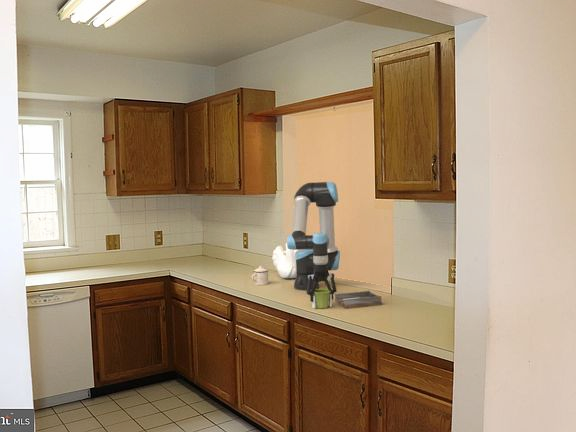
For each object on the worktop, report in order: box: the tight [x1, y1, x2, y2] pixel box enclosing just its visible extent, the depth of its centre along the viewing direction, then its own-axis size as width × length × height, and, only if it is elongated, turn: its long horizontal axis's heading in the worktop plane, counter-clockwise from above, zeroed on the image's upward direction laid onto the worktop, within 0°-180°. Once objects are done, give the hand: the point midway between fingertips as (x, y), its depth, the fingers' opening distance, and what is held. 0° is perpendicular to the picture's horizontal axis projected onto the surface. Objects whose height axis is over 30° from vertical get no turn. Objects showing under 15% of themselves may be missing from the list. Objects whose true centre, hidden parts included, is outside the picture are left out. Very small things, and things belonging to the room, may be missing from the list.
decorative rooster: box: [271, 242, 300, 279], centre depth 362 cm, size 25×16×25 cm, turn 32°
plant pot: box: [314, 288, 331, 309], centre depth 277 cm, size 9×9×9 cm
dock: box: [334, 290, 382, 310], centre depth 283 cm, size 14×20×4 cm
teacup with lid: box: [251, 265, 269, 286], centre depth 342 cm, size 12×9×12 cm
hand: (322, 307), depth 278 cm, fingers closed on plant pot, 8 cm apart
